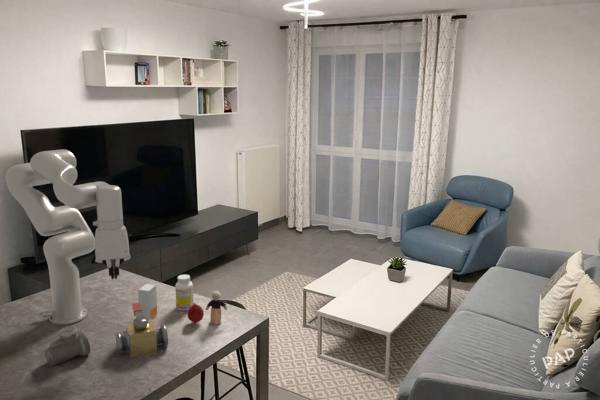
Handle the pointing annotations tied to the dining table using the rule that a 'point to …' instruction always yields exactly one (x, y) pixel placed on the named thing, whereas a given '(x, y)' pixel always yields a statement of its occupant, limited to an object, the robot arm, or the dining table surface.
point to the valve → (141, 340)
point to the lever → (139, 317)
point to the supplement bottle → (184, 293)
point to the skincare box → (148, 300)
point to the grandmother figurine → (216, 308)
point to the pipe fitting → (67, 346)
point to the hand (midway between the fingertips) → (114, 277)
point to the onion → (195, 313)
